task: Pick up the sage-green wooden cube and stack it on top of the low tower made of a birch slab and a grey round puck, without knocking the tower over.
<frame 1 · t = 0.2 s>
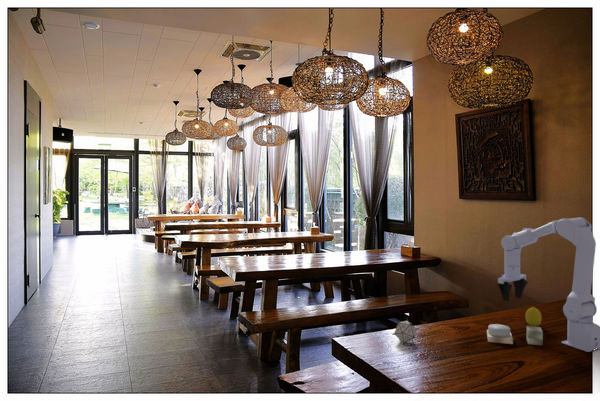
hand: (512, 299, 177), 10 cm above the table, tool pointing down, fingers open, 7 cm apart
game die: (405, 343, 160), on the table
birch slab: (499, 340, 161), on the table, touching grey puck
grey puck: (499, 334, 161), point 2 cm above the table, touching birch slab
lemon: (533, 327, 173), on the table
sage cube: (534, 342, 158), on the table
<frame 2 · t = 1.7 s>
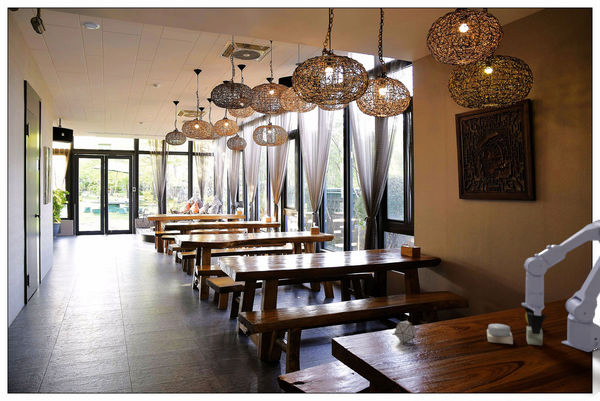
hand: (534, 330, 157), 4 cm above the table, tool pointing down, fingers open, 7 cm apart
nothing on the table moved.
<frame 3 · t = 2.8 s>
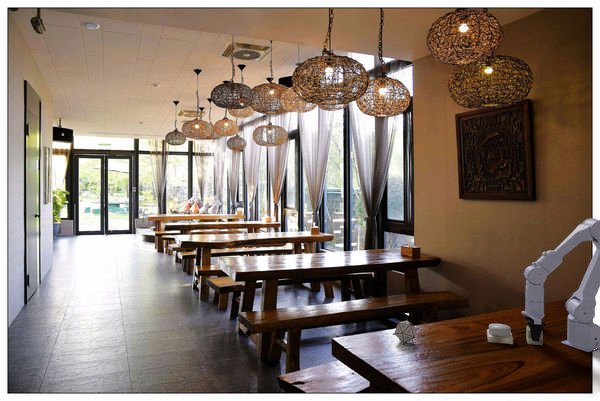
hand: (534, 338, 157), 1 cm above the table, tool pointing down, fingers closed on sage cube, 4 cm apart
sage cube: (534, 342, 158), on the table, touching gripper
everything else where it was.
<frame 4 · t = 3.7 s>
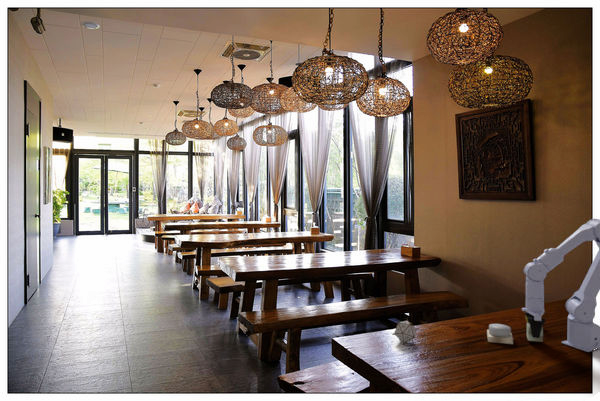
hand: (534, 335, 157), 3 cm above the table, tool pointing down, fingers closed on sage cube, 4 cm apart
sage cube: (534, 339, 157), point 1 cm above the table, touching gripper
everything else where it was.
when the fingers open (8 cm above the table, at t = 6.7 s): sage cube drops 2 cm, resting on grey puck.
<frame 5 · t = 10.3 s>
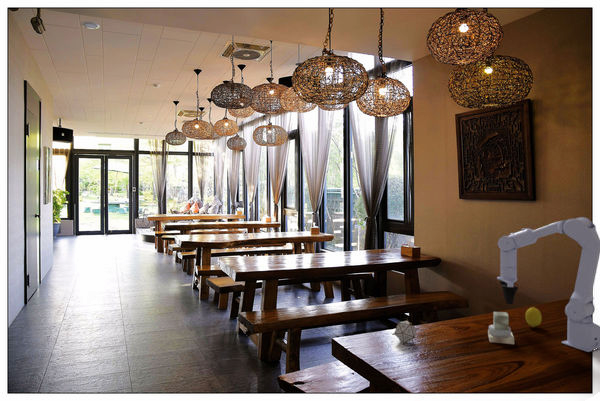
hand: (508, 301, 173), 10 cm above the table, tool pointing down, fingers open, 7 cm apart
grey puck: (499, 334, 161), point 2 cm above the table, touching birch slab, sage cube
sage cube: (500, 327, 161), point 4 cm above the table, touching grey puck
everything else where it was.
at the end: sage cube 0.4 cm off-centre on the grey puck, point 2.5 cm above the grey puck's base; grey puck 0.4 cm off-centre on the birch slab, point 2.5 cm above the birch slab's base; birch slab tilted 0° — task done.
